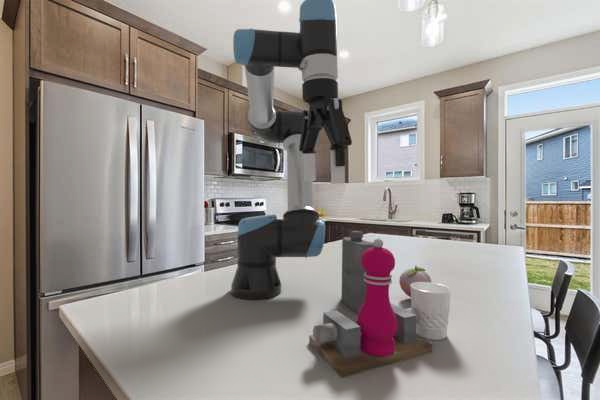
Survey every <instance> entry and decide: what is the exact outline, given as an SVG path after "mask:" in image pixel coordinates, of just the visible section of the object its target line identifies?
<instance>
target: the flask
mask: <svg viewBox="0 0 600 400" xmlns="http://www.w3.org/2000/svg"><path fill="white" fill-rule="evenodd" d="M363 238H364V232H362V231H361V230H360V231H359V230H353V231H352V230H351V231H350V232H349V236H345V237H343V238H342V241H341V242H342V244H341V247H342V248H341V249H342V250H341V301H342V302H343V303H344V304H345V305H346V306H347V307H348V308H349V309H350V310H352V311H354V312H355V313H356V314H358V313H359V311H360V309H361V307H362V304H363V302H364V300H365V297H366V289H367V287H366V282H365V281H364V273H365V272H366V271H365V269H364V268H363V266H362V264H361V258H362V255H363V253H364V252H365V251H366V250H367V249H369V248H372V247H374V245H373V242H371V241H367V240H363Z"/></svg>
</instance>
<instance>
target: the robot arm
mask: <svg viewBox="0 0 600 400" xmlns="http://www.w3.org/2000/svg"><path fill="white" fill-rule="evenodd" d="M336 10H337V9H336V4H335V2H334V0H304V1H303V2H302V3H301V4H300V6H299V18H298V22H299V32H296V31H293V32H292V31H281V30H279V31H275V30H267V29H266V30H265V29H254V28H240V29H239V28H238V29H236V30H234V33H233V42H232V43H233V44H232V46H233V57H234V61H235V63H236V64H237V65H241V66H244V70H245V71H244V72H245V80H246V86H247V87H246V88H247V95H248V96H247V97H248V103H249V109H248V111H247V119H248V124H249V126H250V128H251V130H252V131H253V132H254V133H255V134H256V136H259V137H260V139H263V140H265V141H266V142H269V143H275V144H282V148H283V149H284V150H285V151H286V167H287V168H286V172H287V173H286V174H287V176H286V177H287V178H286V179H287V180H286V182H287V184H286V185H287V189H286V190H287V210H286V211H285V212H284V213H283V215H282V219H279V218H278V216H277V215H276V214H264V215H256V216H250V217H244V218H242V219H241V220H239V222H238V228H237V234H236V235H237V267H236V270H235V273H234V276H233V280H232V282H231V289H230V292H231V295H232V296H233V297H236V298H239V299H243V300H244V299H245V300H263V299H270V298H273V297H276V296H278V295H279V294H280V293H282V282H281V279H280V275H279V272H278V270H277V263H276V261H277V258H305V259H306V258H314V257H318V256H320V255H321V253H322V251H323V248H324V243H325V236H326V221H325V220H324V219H322V218H320V214H319V212H318V211H317V210H316V209H315V206H314V202H315V201H314V187H313V186H314V184H313V182H314V181H317V177H316V176H317V175H316V174H317V173H316V170H317V169H316V168H317V167H316V150H315V147H316V145H317V144H318V141H319V138H320V137H319V136H320V134H319V133H320V132H321V131H322V130H323V129H324V131H325V134H326V136H327V138H328V141H329V143H330V144H331V146H330V148H329V150H330V153H329V154H330V155H329V156H330V179H331V180H330V182H331V184H332V185H336V184H337V185H338V184H346V170H345V169H346V165H345V164H346V161H345V160H346V154H345V153H346V151H345V150H346V149H348V146H352V144H353V143H352V142H353V140H352V137H351V134H350V131H349V128H348V124H347V121H346V117H345V114H344V113H345V112H344V110H343V100H342V99H341V98H339V86H338V85H339V84H338V83H339V82H338V81H337V79H338V77H339V75H338V74H339V72H338V71H339V70H338V69H339V68H338V46H337V45H338V43H337V42H338V40H337V39H338V37H337V33H338V32H337V30H338V29H337V22H338V18H337V11H336ZM275 67H279V68H294V69H298V70H299V71H300V72H301V79H302V80H301V81H303V82H302V85H301V88H302V89H301V91H302V92H301V93H302V94H301V95H302V100H303V102H304V103H307V104H308V105H309V109H308V110H306V109H304V110H302V111H295V110H294V111H293V110H292V111H289V110H275V109H274V94H275V93H274V88H275V86H274V85H275V81H274V80H275ZM277 218H278V219H277Z"/></svg>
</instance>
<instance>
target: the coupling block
mask: <svg viewBox="0 0 600 400" xmlns="http://www.w3.org/2000/svg"><path fill="white" fill-rule="evenodd" d="M390 304H391V306H392V309H393V311H394V313H395V316H396V319H397V326H398V329H397V332H396V334H395V335H394V336H393V337H392V338H393V339H394V352H393V353H392V354H391V355H388V356H374V355H370V354H368V353H366V352H364V351H363V350H362V349H361V348H360V334H361V327H360V326H359V325H357V322H356V323H355V322H354V320H352V319H351V318H348V317H347V316H346V315H344V314H343V313H341V312H340V311H338V310H337V309H336V310H331V311H330V310H329V311H325V312H323V319H322V321H323V323H322V324H317V325H313V329H312V334H310V335H309V336H308V337H309V338H308V339H309V340H308V344H310V345H311V347H312V348H313V349H314V350H315V351H316V352H317V353H318V354H319V355H320V356H321V357H322V358H323V359H324V361H326V362H327V363H328V364H329V366H330V367H332V369H333V370H334V369H335V370H334V371H335V372H336V371H337V372H338V373H337V372H336V373H337V374H338V375H339V376H340V377H341V378H344V377H347V376H352V375H353V374H354V373H355V374H357V372H358V373H362V372H365V371H364V370H366V371H369V370H372V369H371V368H373V369H376V368H380V367H383V366H382V365H384V366H387V365H390V364H393V363H397V361H398V362H401V361H404V359H405V360H408V359H413V358H416V357H419V356H422V355H425V354H426V353H427V354H429V353H432V352H433V343H431V342H429V341H427V340H426V339H425V338H423V337H420V336H418V335H417V334H416V323H418V322H419V319H420V316H419V313H418V311H417V310H416V309H415V308H411V307H409V308H402V307H400V306H398V305H396V304H394V303H391V302H390ZM400 360H401V361H400ZM379 366H380V367H379ZM375 367H376V368H375ZM368 369H369V370H368ZM361 371H362V372H361Z"/></svg>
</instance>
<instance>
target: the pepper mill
mask: <svg viewBox="0 0 600 400" xmlns="http://www.w3.org/2000/svg"><path fill="white" fill-rule="evenodd" d="M372 243H373V245H374V247H372V248H369V249H367V250H366V251H365V252H364V253H363V255H362V258H361V264H362V266H363V268H364V269H365V271H366V272H365V273H364V281H365V282H366V287H367V289H366V297H365V300H364V302H363V304H362V307H361V309H360V311H359V313H357V316H356V317H357V319H356V324H357V325H359V326H360V327H361V334H360V348H361V349H362V350H363V351H364V352H366V353H368V354H370V355H374V356H388V355H391V354H392V353H393V352H394V339H393V338H392V337H393V336H394V335H395V334H396V332H397V329H398V326H397V319H396V316H395V313H394V311H393V309H392V306H391V304H390V303H391V301H390V295H389V294H390V293H389V292H390V284H392V283H393V280H392V278H393V275H392V274H391V273H392V271H393V270H394V269H395V266H396V260H395V256H394V254H393V252H391V250H389V249H387V248H385V247H383V246H384V242H383V240H382V239H381V238H375V239H374V240H373V242H372Z"/></svg>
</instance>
